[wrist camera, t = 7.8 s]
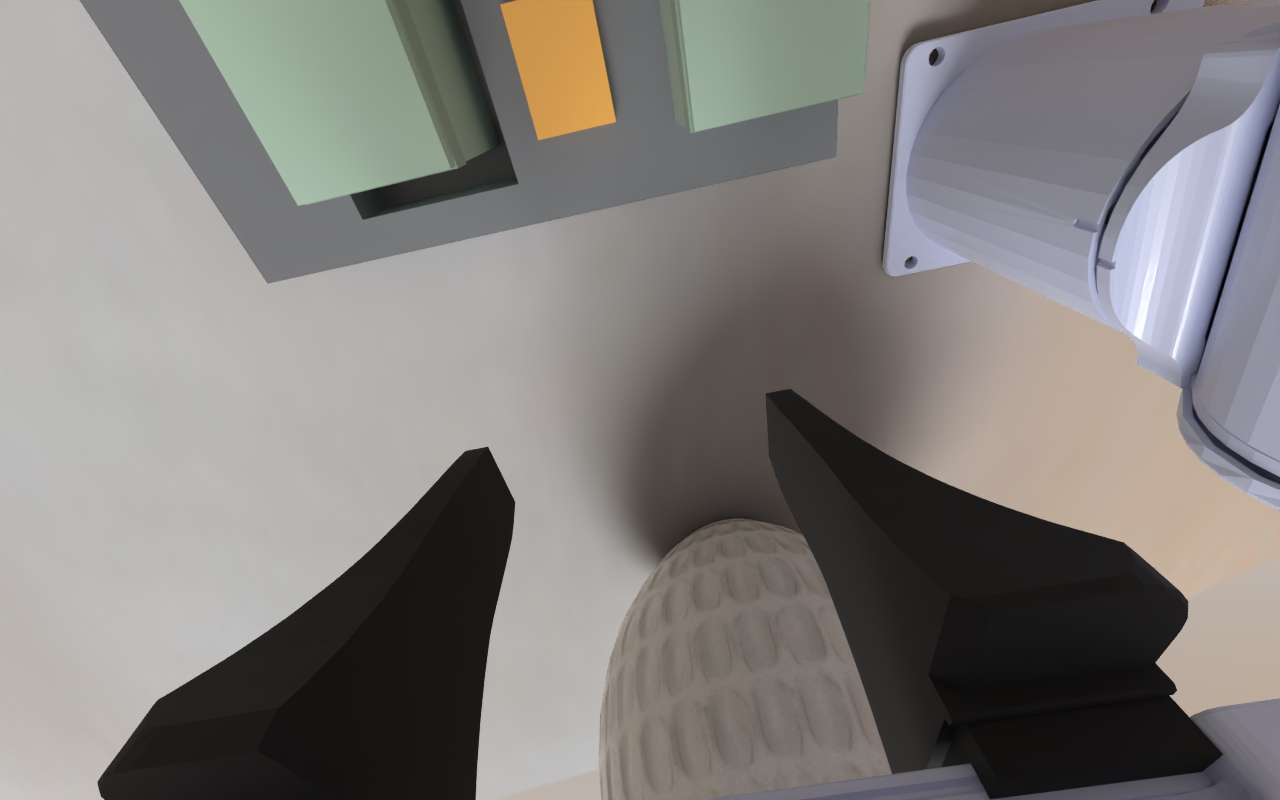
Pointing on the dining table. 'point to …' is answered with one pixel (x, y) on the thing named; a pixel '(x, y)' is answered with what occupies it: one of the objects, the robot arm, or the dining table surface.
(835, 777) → the vase
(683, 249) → the dining table surface
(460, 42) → the plug
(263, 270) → the gray fixture base
